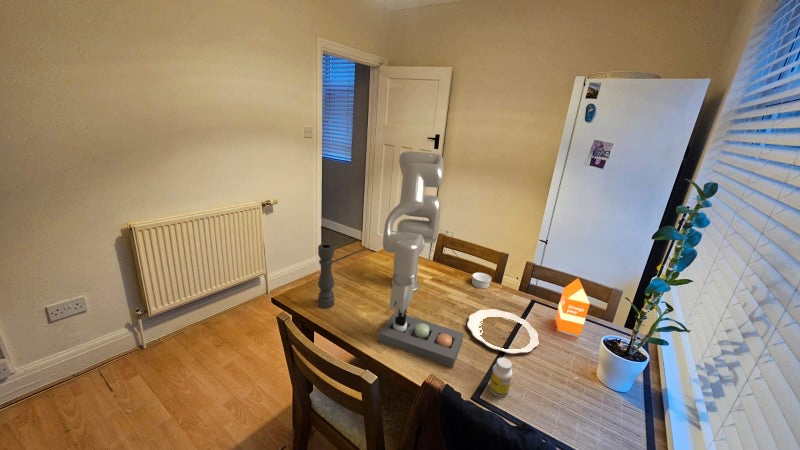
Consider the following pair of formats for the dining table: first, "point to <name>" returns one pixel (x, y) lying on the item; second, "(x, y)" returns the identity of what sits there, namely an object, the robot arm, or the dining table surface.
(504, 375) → the supplement bottle
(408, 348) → the button panel
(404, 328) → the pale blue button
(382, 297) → the dining table surface
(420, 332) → the sage button
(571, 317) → the orange juice
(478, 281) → the ramekin
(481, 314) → the plate
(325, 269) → the candle holder
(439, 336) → the terracotta button
